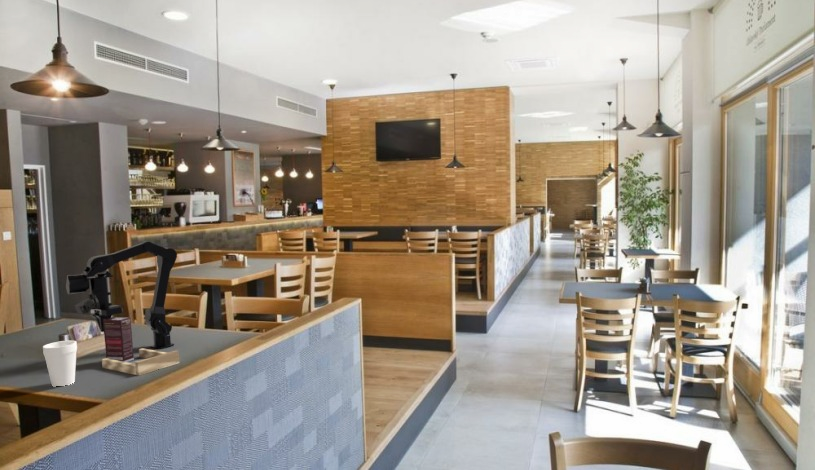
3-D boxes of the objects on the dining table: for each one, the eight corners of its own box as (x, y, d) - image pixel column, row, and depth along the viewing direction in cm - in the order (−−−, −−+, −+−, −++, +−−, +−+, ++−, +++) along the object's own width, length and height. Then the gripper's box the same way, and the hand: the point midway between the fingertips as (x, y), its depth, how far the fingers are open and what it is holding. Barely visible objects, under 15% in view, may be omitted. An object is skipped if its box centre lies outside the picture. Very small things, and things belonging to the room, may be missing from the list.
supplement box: (134, 359, 210) (131, 317, 209) (124, 363, 206) (120, 320, 205) (116, 358, 213) (112, 316, 212) (105, 362, 208) (102, 319, 207)
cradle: (102, 367, 202) (101, 355, 201) (143, 356, 215) (142, 344, 214) (138, 375, 190) (137, 362, 190) (179, 362, 203) (178, 350, 203)
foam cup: (56, 380, 189) (52, 341, 188) (85, 378, 190) (82, 339, 189) (40, 389, 180) (36, 349, 179) (71, 387, 181) (67, 347, 180)
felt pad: (116, 366, 202) (116, 366, 202) (142, 359, 210) (142, 358, 210) (140, 371, 194) (140, 371, 194) (166, 363, 203) (166, 363, 203)
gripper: (63, 292, 211) (67, 334, 212) (91, 295, 201) (95, 339, 202) (93, 287, 220) (97, 327, 222) (121, 290, 210) (125, 332, 212)
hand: (102, 331), depth 214 cm, fingers closed
